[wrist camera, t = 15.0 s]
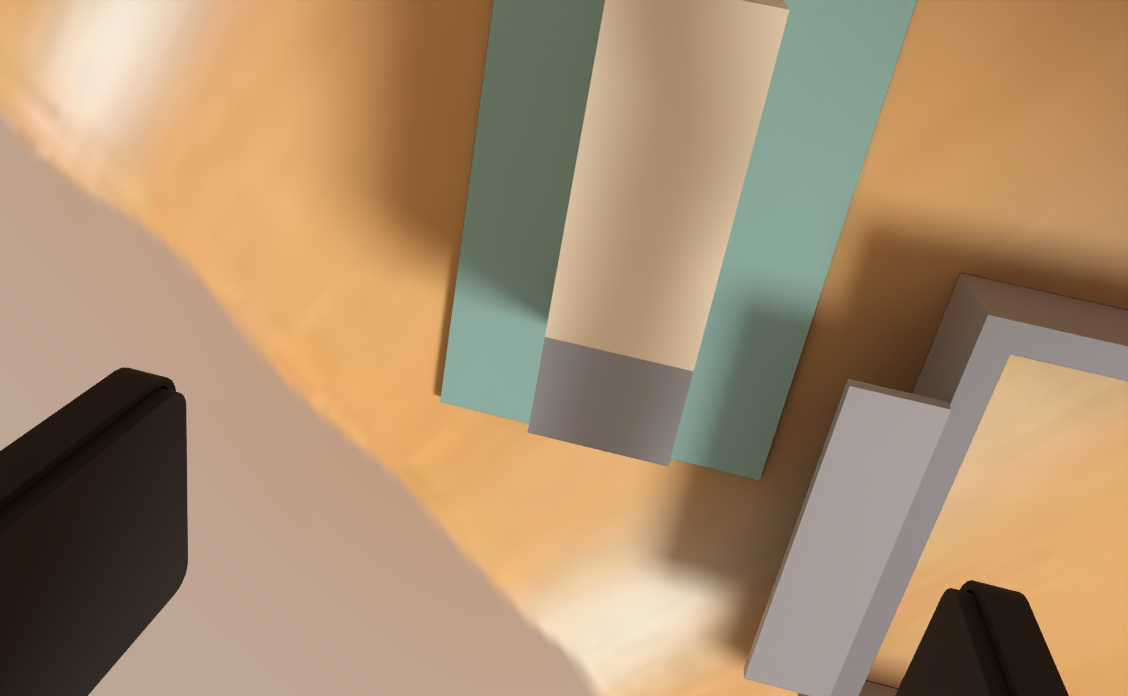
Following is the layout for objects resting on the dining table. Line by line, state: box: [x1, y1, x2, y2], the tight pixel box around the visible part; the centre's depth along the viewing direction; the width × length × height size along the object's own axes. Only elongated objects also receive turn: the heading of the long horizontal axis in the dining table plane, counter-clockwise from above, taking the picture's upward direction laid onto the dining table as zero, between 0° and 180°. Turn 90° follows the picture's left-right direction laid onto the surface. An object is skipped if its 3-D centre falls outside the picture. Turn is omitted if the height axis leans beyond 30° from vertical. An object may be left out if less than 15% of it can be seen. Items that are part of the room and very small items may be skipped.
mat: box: [440, 0, 917, 480], centre depth 29 cm, size 12×20×1 cm, turn 169°
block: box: [528, 0, 789, 466], centre depth 26 cm, size 4×12×7 cm, turn 170°
